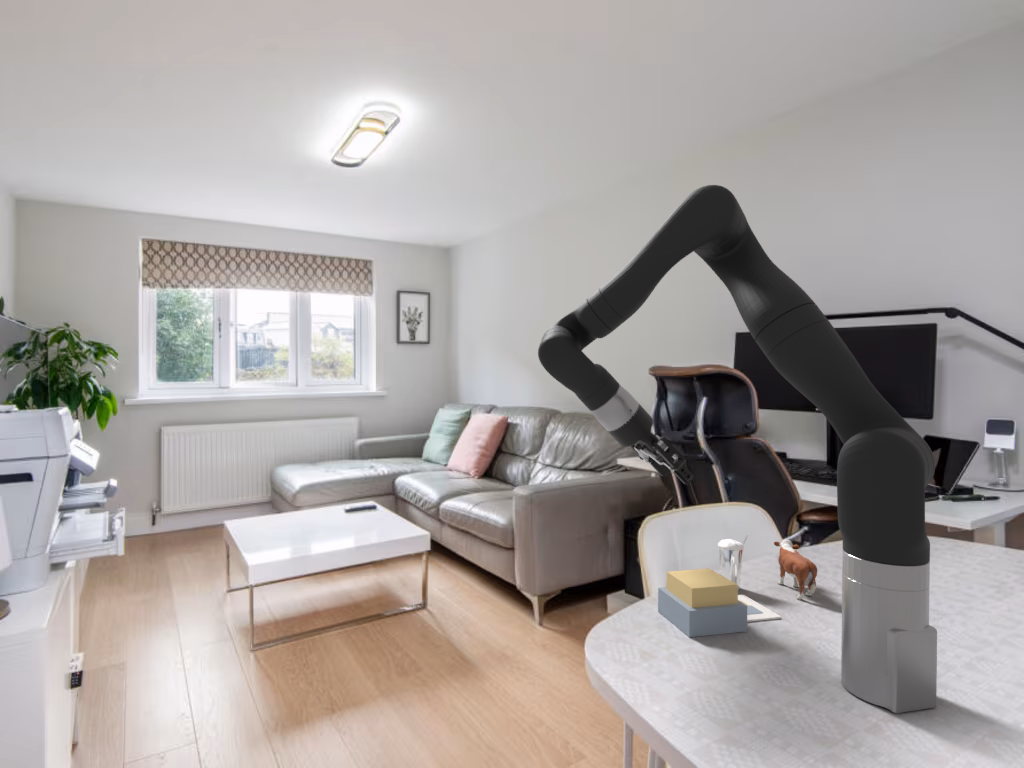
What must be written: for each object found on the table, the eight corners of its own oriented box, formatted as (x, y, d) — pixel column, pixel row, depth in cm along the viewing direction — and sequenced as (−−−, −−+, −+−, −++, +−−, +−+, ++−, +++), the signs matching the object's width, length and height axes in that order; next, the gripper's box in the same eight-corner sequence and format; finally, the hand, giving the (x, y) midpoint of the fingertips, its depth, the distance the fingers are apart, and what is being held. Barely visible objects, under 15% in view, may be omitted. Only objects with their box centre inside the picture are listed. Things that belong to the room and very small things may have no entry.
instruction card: (781, 618, 94) (781, 616, 94) (743, 622, 93) (743, 620, 93) (743, 596, 104) (743, 594, 104) (708, 599, 102) (708, 597, 102)
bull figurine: (792, 577, 114) (792, 537, 114) (822, 604, 101) (822, 557, 101) (769, 577, 115) (770, 536, 114) (796, 603, 101) (796, 556, 101)
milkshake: (751, 592, 106) (752, 538, 106) (722, 592, 106) (722, 538, 106) (742, 584, 110) (742, 532, 110) (714, 583, 110) (714, 531, 110)
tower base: (747, 631, 89) (747, 586, 89) (689, 637, 87) (689, 591, 87) (710, 606, 99) (711, 566, 99) (658, 611, 97) (658, 570, 97)
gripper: (653, 402, 96) (713, 468, 99) (619, 398, 110) (672, 457, 113) (623, 433, 95) (684, 500, 98) (592, 426, 109) (647, 484, 112)
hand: (678, 477), depth 105 cm, fingers open, 8 cm apart
